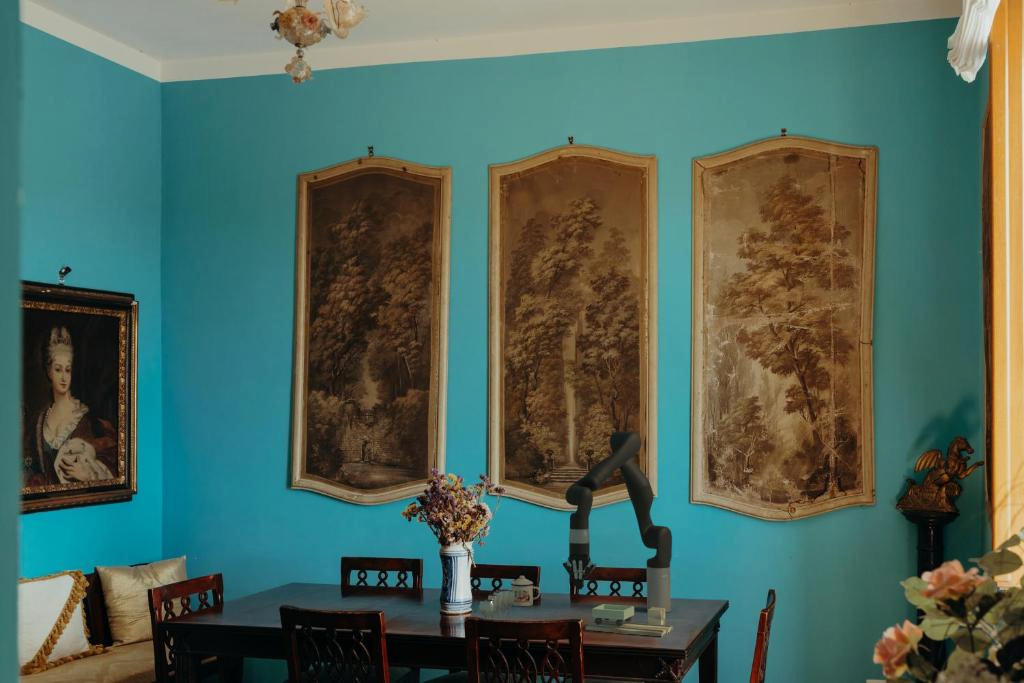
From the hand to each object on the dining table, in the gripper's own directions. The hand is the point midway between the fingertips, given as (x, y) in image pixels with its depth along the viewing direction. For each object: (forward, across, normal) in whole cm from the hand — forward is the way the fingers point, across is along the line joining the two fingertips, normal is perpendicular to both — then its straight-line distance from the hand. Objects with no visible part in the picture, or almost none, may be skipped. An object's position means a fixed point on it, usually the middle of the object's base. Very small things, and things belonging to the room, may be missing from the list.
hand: (579, 589), depth 390 cm
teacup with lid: (+13, +37, -33) cm, 51 cm away
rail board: (+13, -19, 0) cm, 23 cm away
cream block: (+13, -25, -13) cm, 31 cm away
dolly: (+11, -13, 0) cm, 17 cm away
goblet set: (+14, +25, +17) cm, 33 cm away
